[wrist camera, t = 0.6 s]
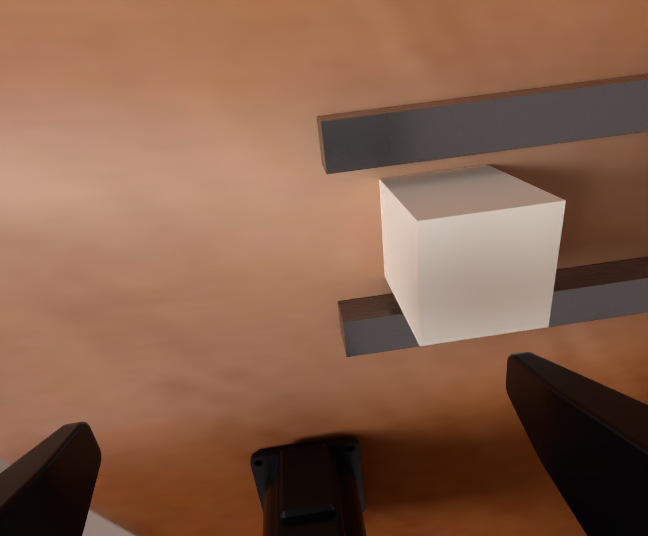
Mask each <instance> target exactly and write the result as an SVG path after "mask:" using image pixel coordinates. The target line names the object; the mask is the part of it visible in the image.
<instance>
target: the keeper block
mask: <svg viewBox="0 0 648 536" xmlns="http://www.w3.org/2000/svg"><path fill="white" fill-rule="evenodd" d="M379 183H380V201H381V218H382V236H383V253H384V271H385V278H386V280H387V282H388V284H389V286H390V288H391V290H392V292H393V294H394V296H395V298H396V300H397V302H398V304H399V306H400V308H401V310H402V312H403V314H404V316H405V318H406V320H407V322H408V324H409V326H410V328H411V330H412V332H413V334H414V336H415V338H416V340H417V342H418V344H419V346H425V345H431V344H438V343H445V342H451V341H458V340H465V339H471V338H478V337H485V336H492V335H498V334H505V333H512V332H518V331H525V330H532V329H539V328H545V327H549V319H550V312H551V305H552V298H553V290H554V283H555V276H556V268H557V261H558V254H559V247H560V239H561V232H562V225H563V218H564V210H565V203H566V200H564V199H561V198H559V197H557V196H555V195H553V194H551V193H548V192H546V191H544V190H542V189H540V188H537V187H535V186H533V185H531V184H529V183H527V182H524V181H522V180H520V179H518V178H516V177H513V176H511V175H509V174H507V173H505V172H503V171H500V170H498V169H496V168H494V167H492V166H489V165H487V164H486V165H479V166H471V167H464V168H456V169H449V170H441V171H434V172H427V173H419V174H412V175H404V176H397V177H389V178H382V179H379Z"/></svg>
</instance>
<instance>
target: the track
mask: <svg viewBox="0 0 648 536" xmlns="http://www.w3.org/2000/svg"><path fill="white" fill-rule="evenodd" d="M317 122H318V131H319V140H320V149H321V158H322V165H323V167H324V169H325V172H326V174H332V173H339V172H347V171H354V170H362V169H369V168H377V167H384V166H392V165H399V164H407V163H414V162H422V161H429V160H437V159H444V158H452V157H459V156H467V155H474V154H481V153H489V152H496V151H504V150H511V149H519V148H526V147H534V146H541V145H549V144H556V143H564V142H571V141H579V140H586V139H594V138H601V137H609V136H616V135H624V134H631V133H639V132H646V131H648V74H643V75H636V76H628V77H620V78H612V79H605V80H597V81H589V82H581V83H574V84H566V85H558V86H550V87H542V88H535V89H527V90H519V91H511V92H504V93H496V94H488V95H480V96H472V97H465V98H457V99H449V100H441V101H434V102H426V103H418V104H410V105H402V106H395V107H387V108H379V109H371V110H364V111H356V112H348V113H340V114H333V115H325V116H317ZM338 308H339V316H340V325H341V334H342V339H343V343H344V347H345V352H346V356H347V357H351V356H358V355H364V354H371V353H378V352H384V351H391V350H398V349H405V348H411V347H418V346H419V344H418V342H417V340H416V338H415V336H414V334H413V332H412V330H411V328H410V326H409V324H408V322H407V320H406V318H405V316H404V314H403V312H402V310H401V308H400V306H399V304H398V302H397V300H396V298H395V296H394V294H387V295H380V296H373V297H366V298H359V299H353V300H346V301H339V302H338ZM646 312H648V257H644V258H637V259H630V260H623V261H616V262H609V263H602V264H595V265H588V266H581V267H574V268H567V269H561V270H556V276H555V283H554V290H553V298H552V305H551V312H550V319H549V327H552V326H559V325H566V324H572V323H579V322H586V321H593V320H599V319H606V318H613V317H619V316H626V315H633V314H640V313H646ZM545 328H546V327H545ZM518 332H519V331H518ZM498 335H499V334H498ZM471 339H472V338H471ZM451 342H452V341H451Z"/></svg>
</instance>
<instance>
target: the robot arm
mask: <svg viewBox="0 0 648 536" xmlns="http://www.w3.org/2000/svg"><path fill="white" fill-rule="evenodd" d="M506 390H507V394H508V396H509V398H510V400H511V402H512V404H513V407H514V409H515V411H516V413H517V415H518V417H519V419H520V421H521V423H522V425H523V427H524V429H525V431H526V433H527V435H528V437H529V439H530V441H531V443H532V445H533V447H534V449H535V451H536V453H537V455H538V457H539V459H540V461H541V462H542V464H543V466H544V467H545V469H546V471H547V472H548V474H549V476H550V477H551V479H552V480H553V482H554V484H555V485H556V487H557V488H558V490H559V491H560V493H561V495H562V496H563V498H564V499H565V501H566V503H567V504H568V506H569V507H570V509H571V511H572V512H573V514H574V515H575V517H576V519H577V520H578V522H579V523H580V525H581V526H582V528H583V530H584V531H585V533H586V534H587V536H648V405H647V404H645V403H642V402H640V401H638V400H636V399H633V398H631V397H629V396H627V395H624V394H622V393H620V392H618V391H616V390H613V389H611V388H609V387H607V386H604V385H602V384H600V383H598V382H595V381H593V380H591V379H589V378H587V377H584V376H582V375H580V374H578V373H575V372H573V371H571V370H569V369H566V368H564V367H562V366H560V365H557V364H555V363H553V362H551V361H549V360H546V359H544V358H542V357H540V356H537V355H535V354H533V353H530V352H521V353H515V354H511V355H510V356H509V357H508V360H507V374H506ZM350 445H352V446H350ZM100 464H101V451H100V448H99V446H98V443H97V441H96V439H95V437H94V434H93V432H92V430H91V428H90V426H89V425H88V424H87V423H86V422H77V423H71V424H66V425H64V426H62V427H61V428H59V429H58V430H57V431H55V432H54V433H53V434H52V435H50V436H49V437H48V438H46V439H45V440H44V441H42V442H41V443H40V444H38V445H37V446H36V447H34V448H33V449H32V450H30V451H29V452H28V453H27V454H25V455H24V456H23V457H21V458H20V459H19V460H17V461H16V462H15V463H13V464H12V465H11V466H9V467H8V468H7V469H5V470H4V471H3V472H2V473H0V536H82V534H83V530H84V527H85V523H86V519H87V515H88V511H89V507H90V503H91V499H92V495H93V491H94V487H95V483H96V479H97V475H98V471H99V467H100ZM251 468H252V472H253V475H254V479H255V483H256V487H257V491H258V494H259V498H260V502H261V506H262V509H263V513H264V516H263V536H366V530H365V525H364V520H363V514H362V513H363V512H364V511H365V509H366V507H365V497H364V488H363V478H362V469H361V460H360V450H359V444H358V441H357V439H356V438H353V437H348V438H341V439H335V440H328V441H322V442H316V443H309V444H303V445H296V446H290V447H283V448H277V449H271V450H264V451H258V452H255V453H253V454H252V456H251Z"/></svg>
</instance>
